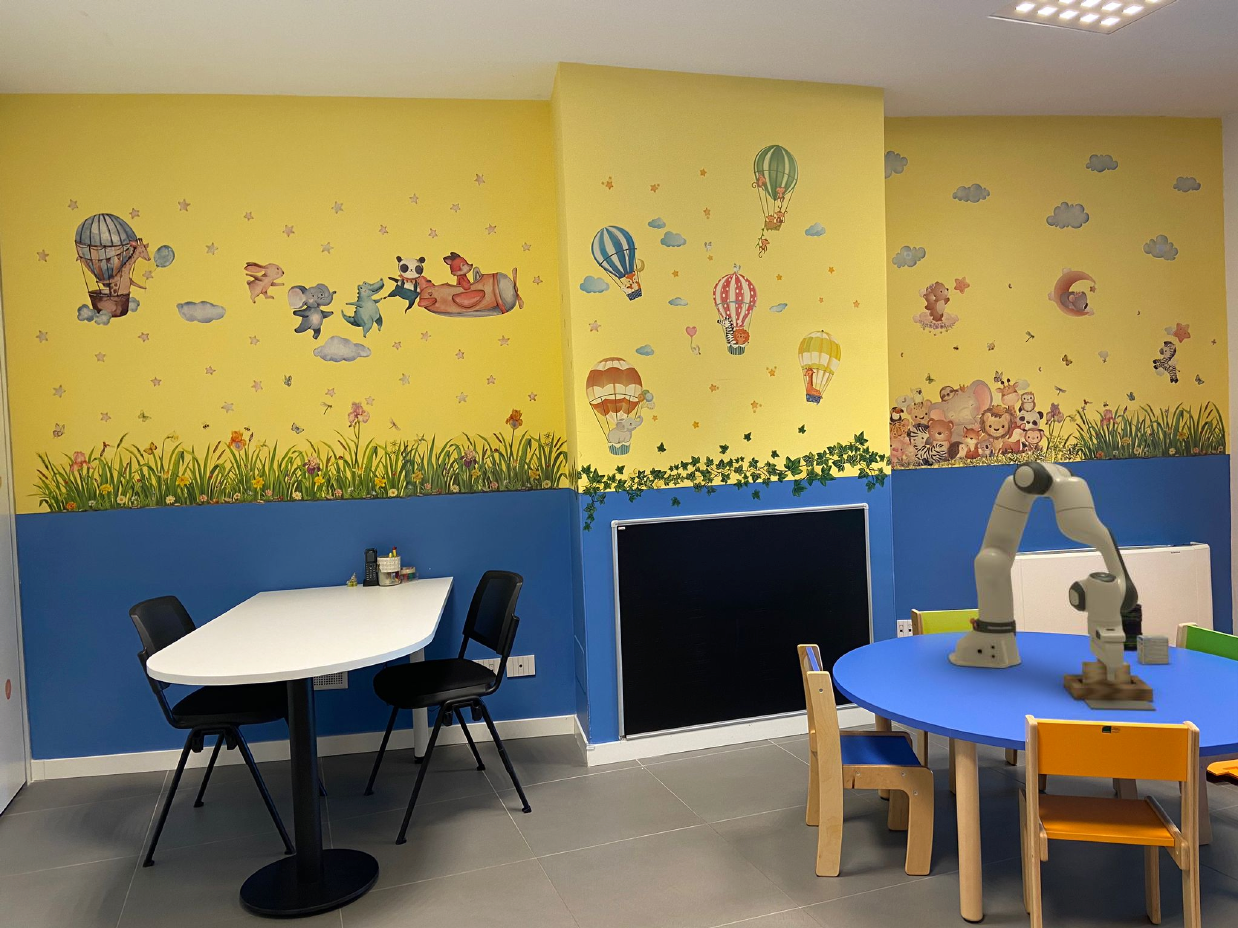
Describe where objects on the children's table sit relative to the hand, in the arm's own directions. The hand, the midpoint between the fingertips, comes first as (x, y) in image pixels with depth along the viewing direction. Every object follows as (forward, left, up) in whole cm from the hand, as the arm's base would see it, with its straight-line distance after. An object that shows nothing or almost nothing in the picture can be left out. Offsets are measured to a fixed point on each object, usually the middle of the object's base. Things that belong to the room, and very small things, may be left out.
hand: (1106, 675), depth 258 cm
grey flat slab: (0, -12, -5) cm, 13 cm away
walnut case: (0, 0, -5) cm, 5 cm away
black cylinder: (+21, +55, -5) cm, 59 cm away
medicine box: (+23, +35, -5) cm, 42 cm away
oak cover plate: (0, 0, -5) cm, 5 cm away
